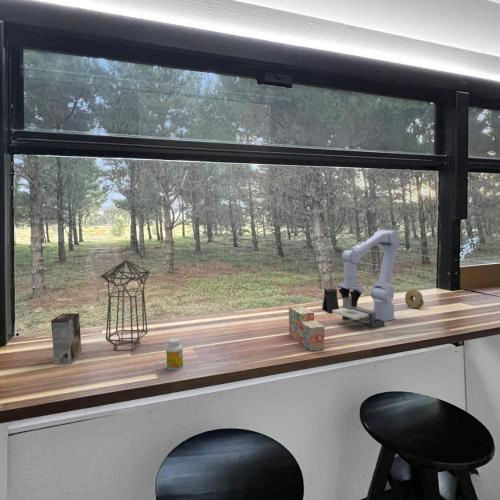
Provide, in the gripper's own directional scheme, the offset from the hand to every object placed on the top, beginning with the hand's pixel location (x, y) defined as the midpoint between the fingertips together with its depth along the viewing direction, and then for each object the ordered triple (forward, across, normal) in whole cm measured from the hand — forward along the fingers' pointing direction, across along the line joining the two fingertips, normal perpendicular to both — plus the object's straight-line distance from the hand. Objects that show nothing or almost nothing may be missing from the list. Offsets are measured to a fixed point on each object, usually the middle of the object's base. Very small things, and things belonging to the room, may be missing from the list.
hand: (350, 305), depth 159 cm
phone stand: (+10, -24, +11) cm, 28 cm away
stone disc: (+10, -3, +53) cm, 54 cm away
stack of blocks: (+10, +4, -30) cm, 32 cm away
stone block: (+2, 0, 0) cm, 2 cm away
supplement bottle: (+10, -1, -84) cm, 85 cm away
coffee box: (+10, -29, -115) cm, 119 cm away
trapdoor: (+7, 0, +3) cm, 8 cm away
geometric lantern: (+10, -30, -93) cm, 98 cm away
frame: (+10, 0, +9) cm, 13 cm away
